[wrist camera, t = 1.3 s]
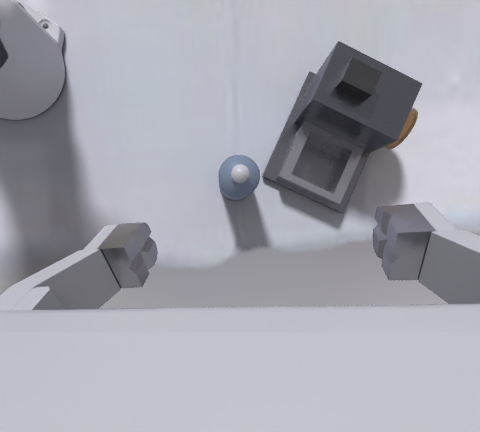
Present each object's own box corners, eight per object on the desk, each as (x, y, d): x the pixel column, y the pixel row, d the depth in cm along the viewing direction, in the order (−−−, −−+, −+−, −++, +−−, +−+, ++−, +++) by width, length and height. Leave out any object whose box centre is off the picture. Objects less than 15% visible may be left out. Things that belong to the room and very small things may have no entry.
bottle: (212, 184, 43) (209, 173, 31) (234, 162, 43) (240, 142, 31) (235, 207, 43) (240, 204, 32) (257, 184, 44) (271, 173, 32)
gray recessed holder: (262, 176, 44) (277, 162, 32) (308, 73, 44) (339, 22, 32) (346, 215, 45) (391, 215, 33) (390, 114, 45) (450, 79, 33)
